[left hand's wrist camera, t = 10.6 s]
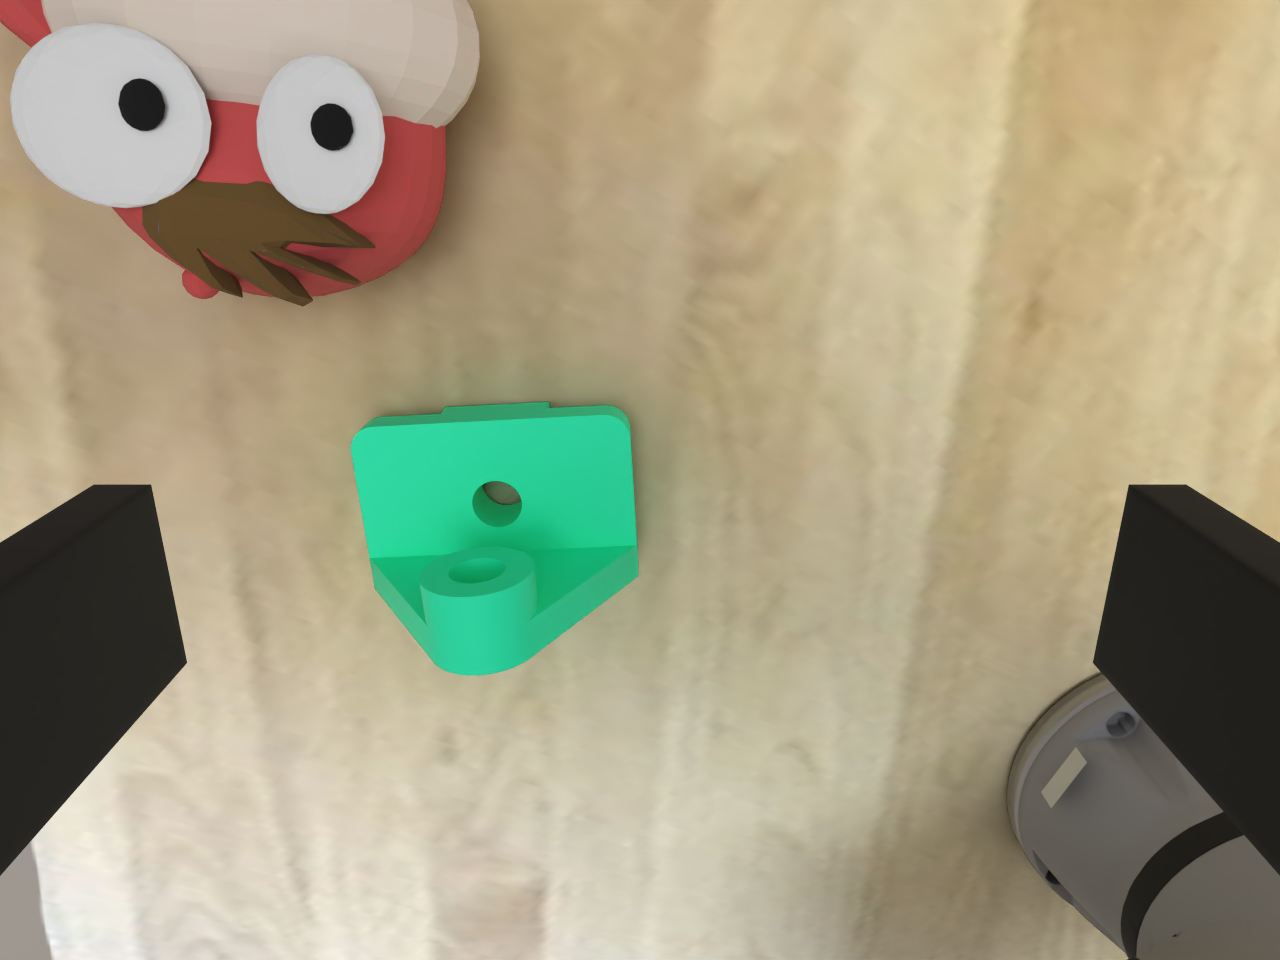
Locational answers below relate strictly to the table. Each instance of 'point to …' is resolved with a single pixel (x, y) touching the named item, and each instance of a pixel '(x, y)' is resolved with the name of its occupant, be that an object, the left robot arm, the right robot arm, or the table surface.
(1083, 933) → the table surface
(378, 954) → the table surface
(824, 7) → the table surface
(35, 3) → the toy
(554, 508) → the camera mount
